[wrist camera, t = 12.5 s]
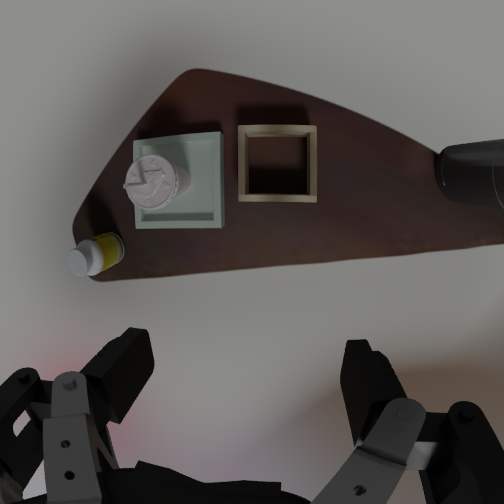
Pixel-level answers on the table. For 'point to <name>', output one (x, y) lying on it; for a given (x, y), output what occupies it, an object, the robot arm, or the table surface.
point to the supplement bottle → (95, 254)
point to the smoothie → (155, 181)
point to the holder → (276, 131)
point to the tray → (202, 181)
